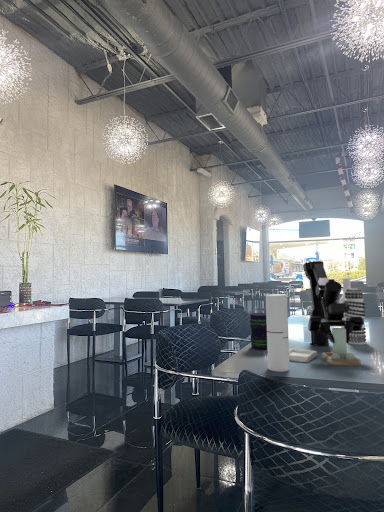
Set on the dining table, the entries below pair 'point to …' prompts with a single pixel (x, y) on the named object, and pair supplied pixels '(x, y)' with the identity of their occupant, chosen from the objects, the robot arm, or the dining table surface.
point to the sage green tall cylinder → (340, 342)
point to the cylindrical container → (277, 332)
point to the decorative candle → (355, 314)
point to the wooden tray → (340, 361)
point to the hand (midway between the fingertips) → (340, 342)
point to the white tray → (301, 355)
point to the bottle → (345, 286)
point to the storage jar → (258, 331)
